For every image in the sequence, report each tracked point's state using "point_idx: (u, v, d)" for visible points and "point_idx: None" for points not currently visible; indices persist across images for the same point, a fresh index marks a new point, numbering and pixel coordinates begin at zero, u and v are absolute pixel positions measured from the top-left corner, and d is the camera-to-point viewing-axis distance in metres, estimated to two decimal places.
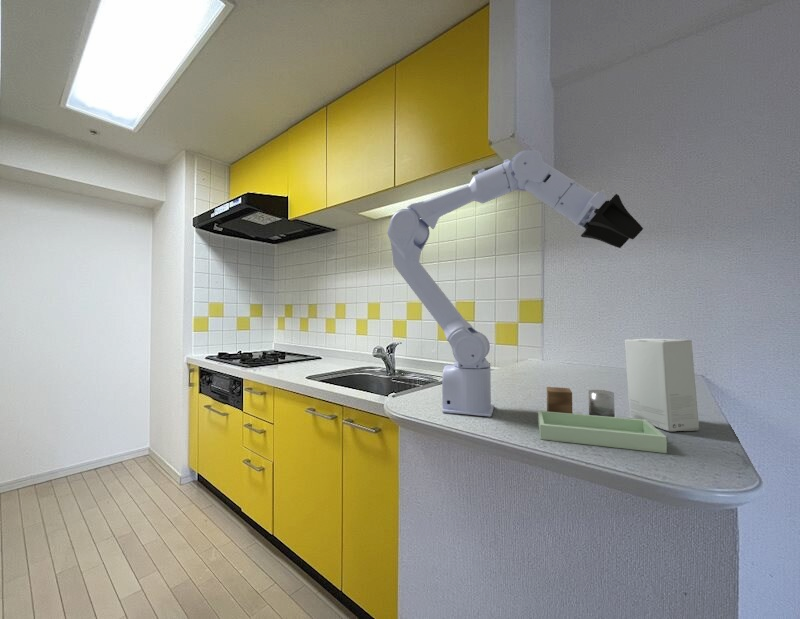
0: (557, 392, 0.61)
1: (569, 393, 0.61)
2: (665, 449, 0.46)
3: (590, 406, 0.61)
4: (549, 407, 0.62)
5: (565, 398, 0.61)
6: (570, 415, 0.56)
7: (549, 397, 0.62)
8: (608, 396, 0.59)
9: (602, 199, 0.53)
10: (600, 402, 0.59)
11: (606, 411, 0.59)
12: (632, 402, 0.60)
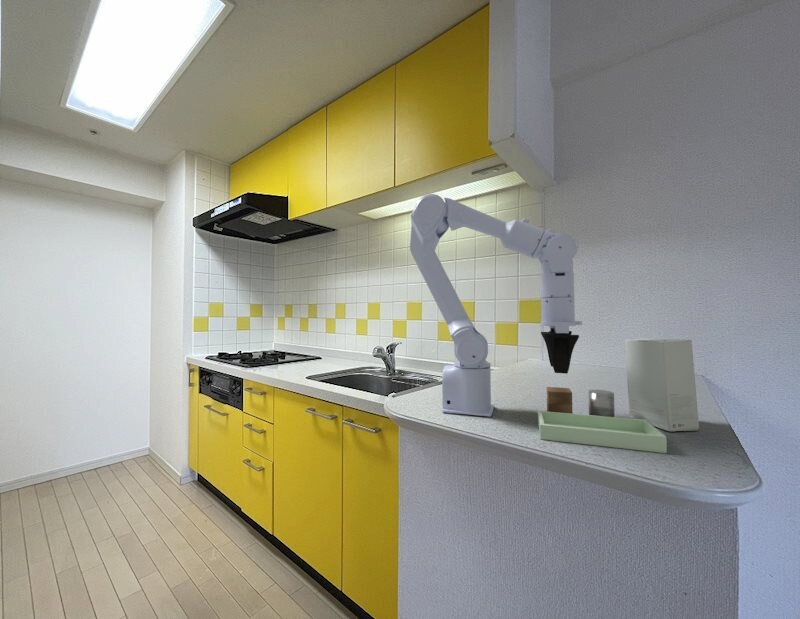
0: (557, 392, 0.61)
1: (569, 393, 0.61)
2: (665, 449, 0.46)
3: (590, 406, 0.61)
4: (549, 407, 0.62)
5: (565, 398, 0.61)
6: (570, 415, 0.56)
7: (549, 397, 0.62)
8: (608, 396, 0.59)
9: (564, 330, 0.56)
10: (600, 402, 0.59)
11: (606, 411, 0.59)
12: (632, 402, 0.60)
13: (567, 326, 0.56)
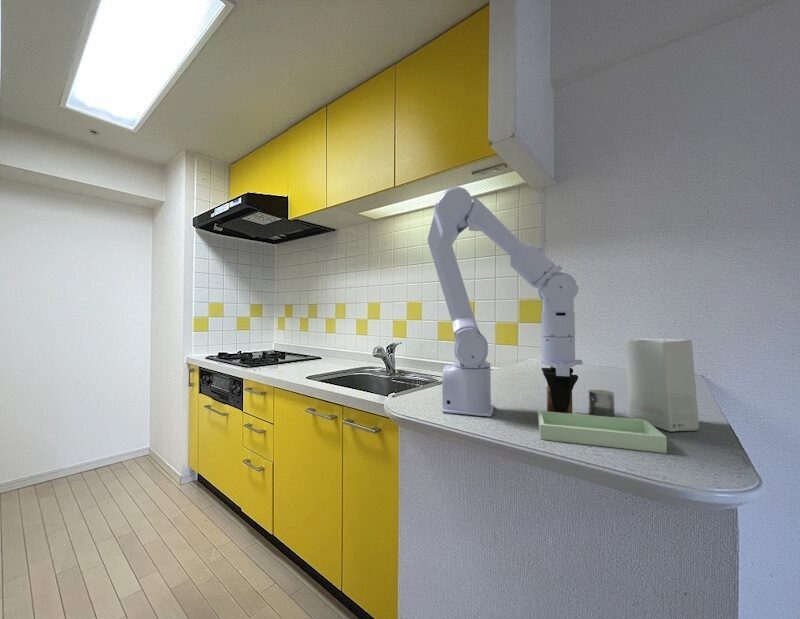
0: None
1: None
2: (665, 449, 0.46)
3: (590, 406, 0.61)
4: (549, 407, 0.62)
5: None
6: (570, 415, 0.56)
7: (549, 397, 0.62)
8: (608, 396, 0.59)
9: (564, 373, 0.56)
10: (600, 402, 0.59)
11: (606, 411, 0.59)
12: (632, 402, 0.60)
13: (568, 369, 0.56)
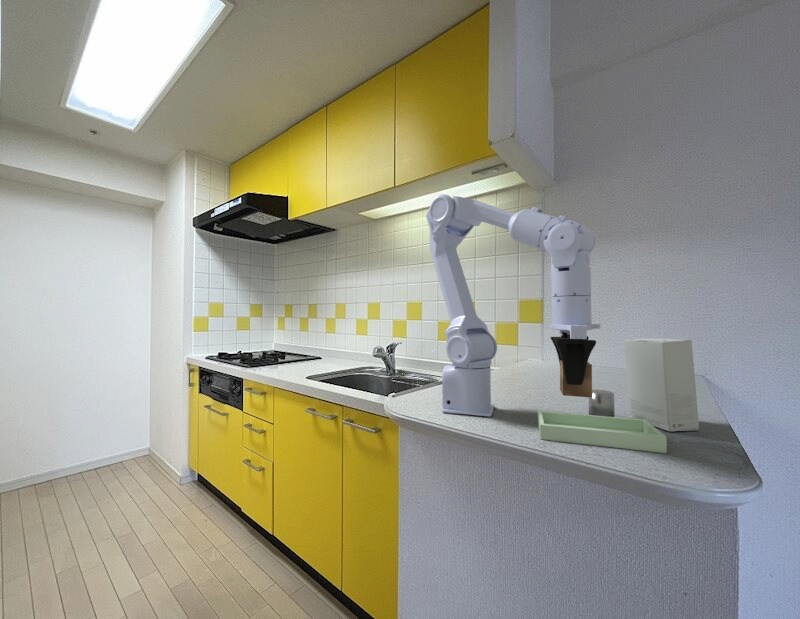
0: None
1: (588, 365, 0.51)
2: (665, 449, 0.46)
3: (590, 406, 0.61)
4: (564, 382, 0.52)
5: None
6: (570, 415, 0.56)
7: None
8: (608, 396, 0.59)
9: (581, 335, 0.47)
10: (600, 402, 0.59)
11: (606, 411, 0.59)
12: (632, 402, 0.60)
13: (584, 330, 0.46)
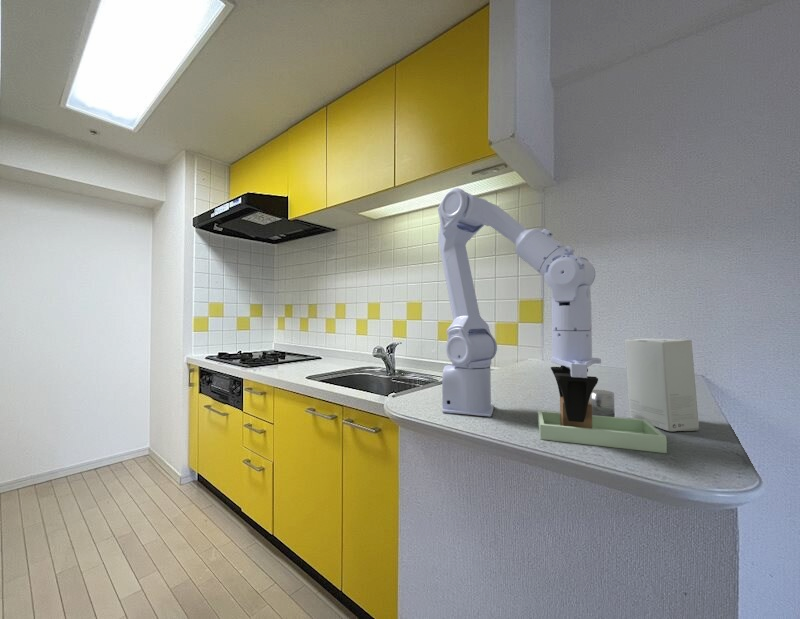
0: None
1: (588, 405, 0.51)
2: (665, 449, 0.46)
3: None
4: (564, 421, 0.52)
5: None
6: None
7: (564, 410, 0.52)
8: (608, 396, 0.59)
9: (581, 373, 0.47)
10: (600, 402, 0.59)
11: (606, 411, 0.59)
12: (632, 402, 0.60)
13: (585, 369, 0.46)
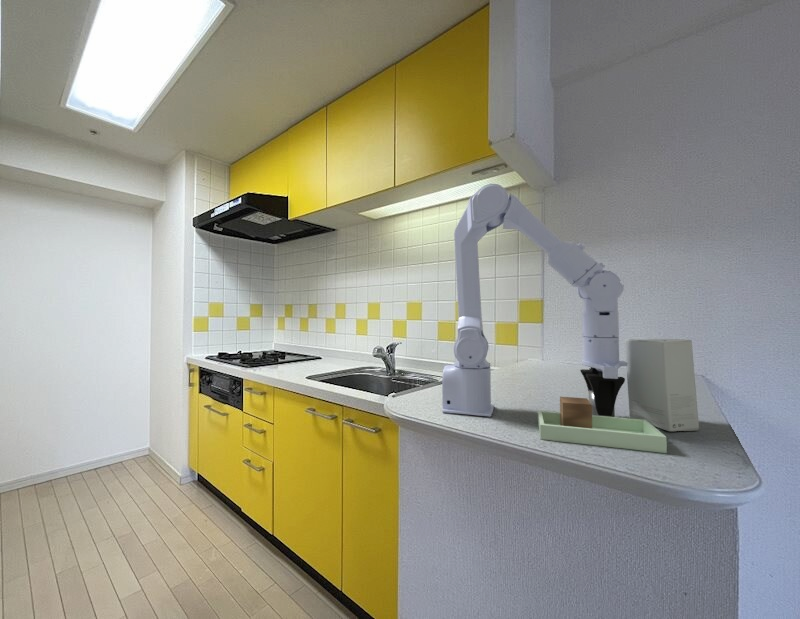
0: (574, 404, 0.51)
1: (588, 405, 0.51)
2: (665, 449, 0.46)
3: None
4: (564, 421, 0.52)
5: (583, 411, 0.51)
6: None
7: (564, 410, 0.52)
8: None
9: (612, 375, 0.54)
10: None
11: None
12: (632, 402, 0.60)
13: (616, 371, 0.54)
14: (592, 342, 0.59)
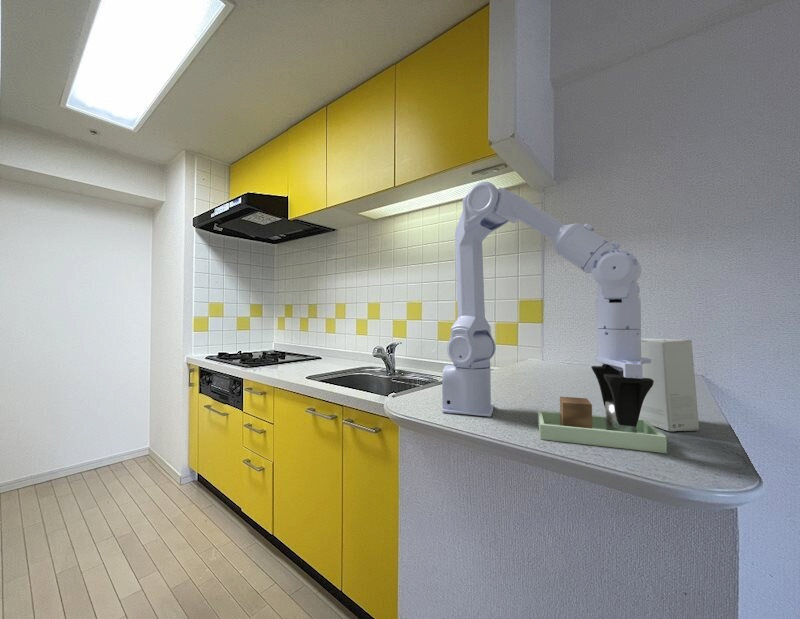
0: (574, 404, 0.51)
1: (588, 405, 0.51)
2: (665, 449, 0.46)
3: (607, 420, 0.51)
4: (564, 421, 0.52)
5: (583, 411, 0.51)
6: None
7: (564, 410, 0.52)
8: None
9: (636, 374, 0.44)
10: None
11: (627, 427, 0.49)
12: None
13: (640, 369, 0.44)
14: (609, 335, 0.50)
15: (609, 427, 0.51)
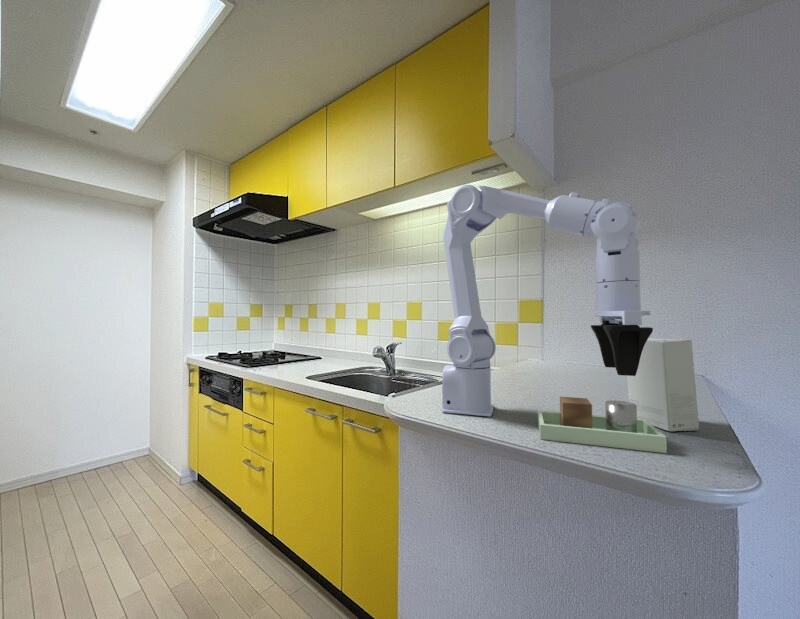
0: (574, 404, 0.51)
1: (588, 405, 0.51)
2: (665, 449, 0.46)
3: (607, 420, 0.51)
4: (564, 421, 0.52)
5: (583, 411, 0.51)
6: None
7: (564, 410, 0.52)
8: (629, 409, 0.49)
9: (635, 321, 0.44)
10: (619, 416, 0.49)
11: (627, 427, 0.49)
12: (632, 402, 0.60)
13: (639, 316, 0.44)
14: (608, 287, 0.50)
15: (609, 427, 0.51)
